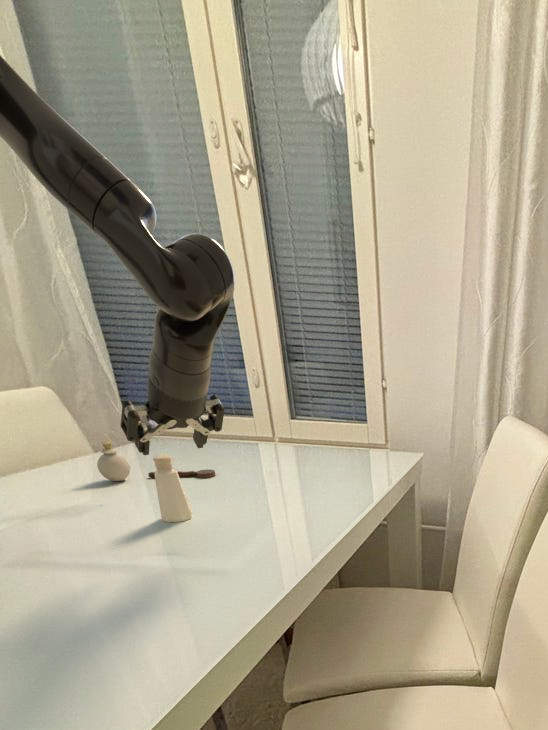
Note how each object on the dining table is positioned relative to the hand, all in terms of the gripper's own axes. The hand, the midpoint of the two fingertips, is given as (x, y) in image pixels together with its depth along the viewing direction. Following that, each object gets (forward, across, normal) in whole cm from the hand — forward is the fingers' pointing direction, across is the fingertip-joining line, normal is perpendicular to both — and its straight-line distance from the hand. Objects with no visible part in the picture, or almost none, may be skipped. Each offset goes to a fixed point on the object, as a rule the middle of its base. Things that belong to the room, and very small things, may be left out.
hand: (171, 447), depth 91 cm
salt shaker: (+14, 0, +5) cm, 15 cm away
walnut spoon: (+35, -12, -16) cm, 40 cm away
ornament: (+39, 0, -20) cm, 44 cm away
